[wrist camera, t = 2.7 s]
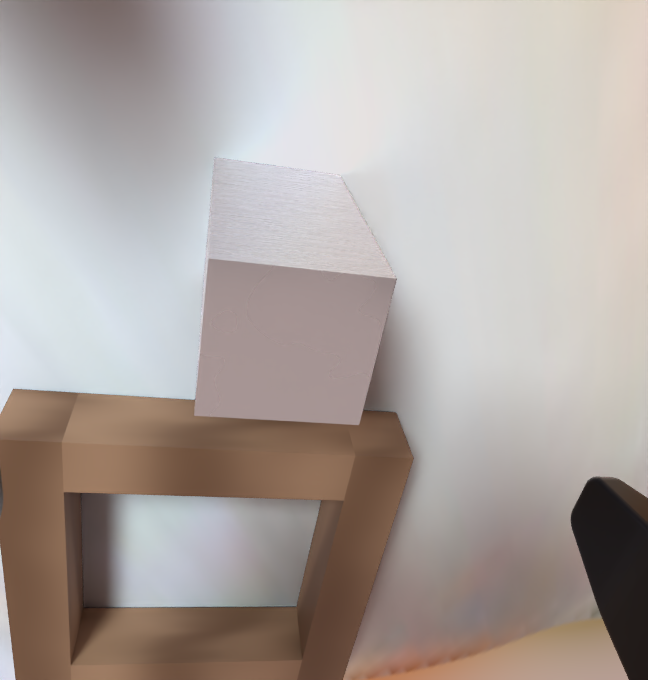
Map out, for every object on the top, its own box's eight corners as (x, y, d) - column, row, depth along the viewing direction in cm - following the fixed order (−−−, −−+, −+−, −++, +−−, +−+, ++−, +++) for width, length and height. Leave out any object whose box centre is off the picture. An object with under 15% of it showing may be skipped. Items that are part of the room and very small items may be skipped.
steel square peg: (340, 175, 18) (396, 278, 12) (318, 286, 20) (359, 425, 14) (214, 157, 17) (208, 258, 11) (203, 274, 19) (194, 416, 13)
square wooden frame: (395, 412, 23) (413, 458, 21) (331, 634, 29) (340, 686, 27) (13, 389, 20) (-12, 439, 18) (34, 638, 26) (17, 697, 24)
